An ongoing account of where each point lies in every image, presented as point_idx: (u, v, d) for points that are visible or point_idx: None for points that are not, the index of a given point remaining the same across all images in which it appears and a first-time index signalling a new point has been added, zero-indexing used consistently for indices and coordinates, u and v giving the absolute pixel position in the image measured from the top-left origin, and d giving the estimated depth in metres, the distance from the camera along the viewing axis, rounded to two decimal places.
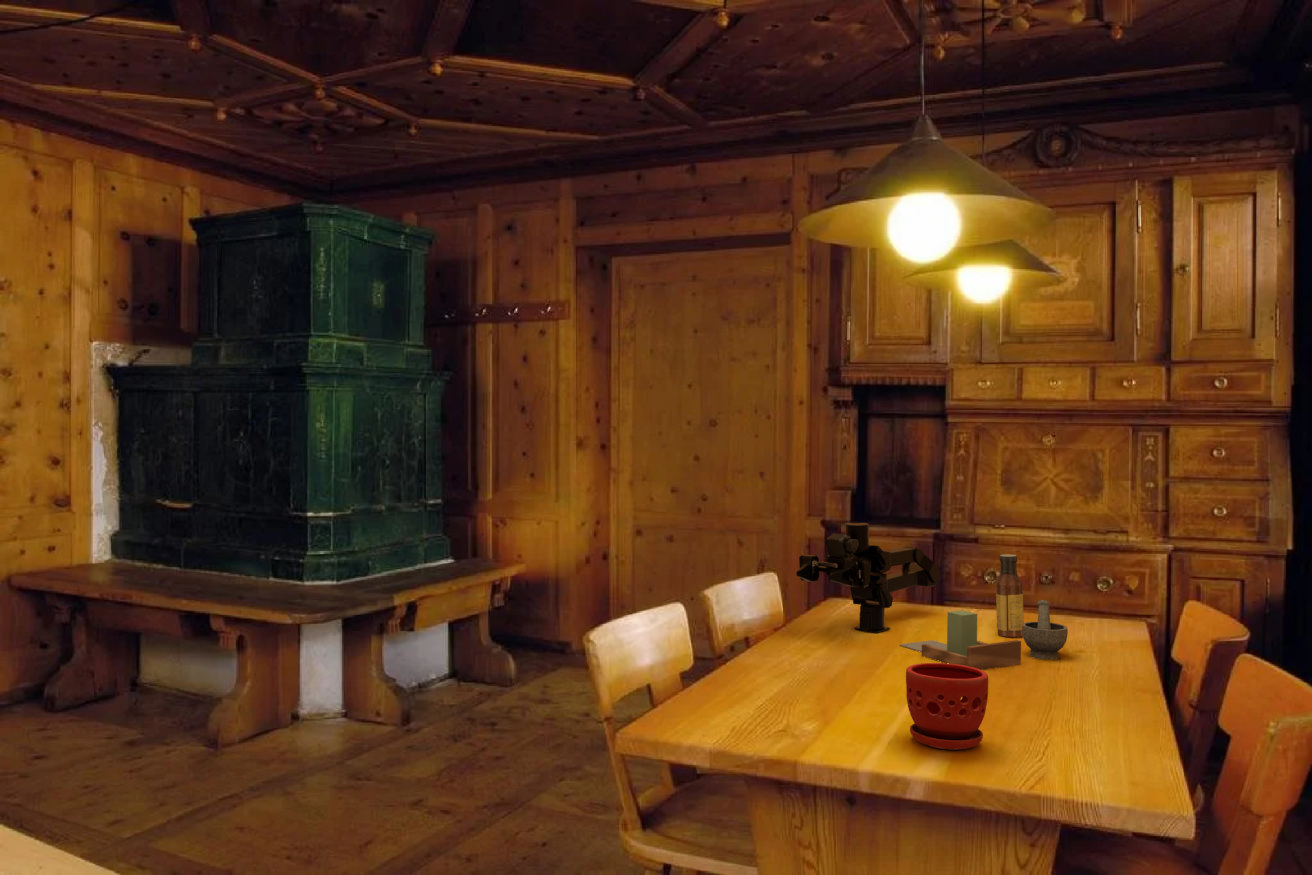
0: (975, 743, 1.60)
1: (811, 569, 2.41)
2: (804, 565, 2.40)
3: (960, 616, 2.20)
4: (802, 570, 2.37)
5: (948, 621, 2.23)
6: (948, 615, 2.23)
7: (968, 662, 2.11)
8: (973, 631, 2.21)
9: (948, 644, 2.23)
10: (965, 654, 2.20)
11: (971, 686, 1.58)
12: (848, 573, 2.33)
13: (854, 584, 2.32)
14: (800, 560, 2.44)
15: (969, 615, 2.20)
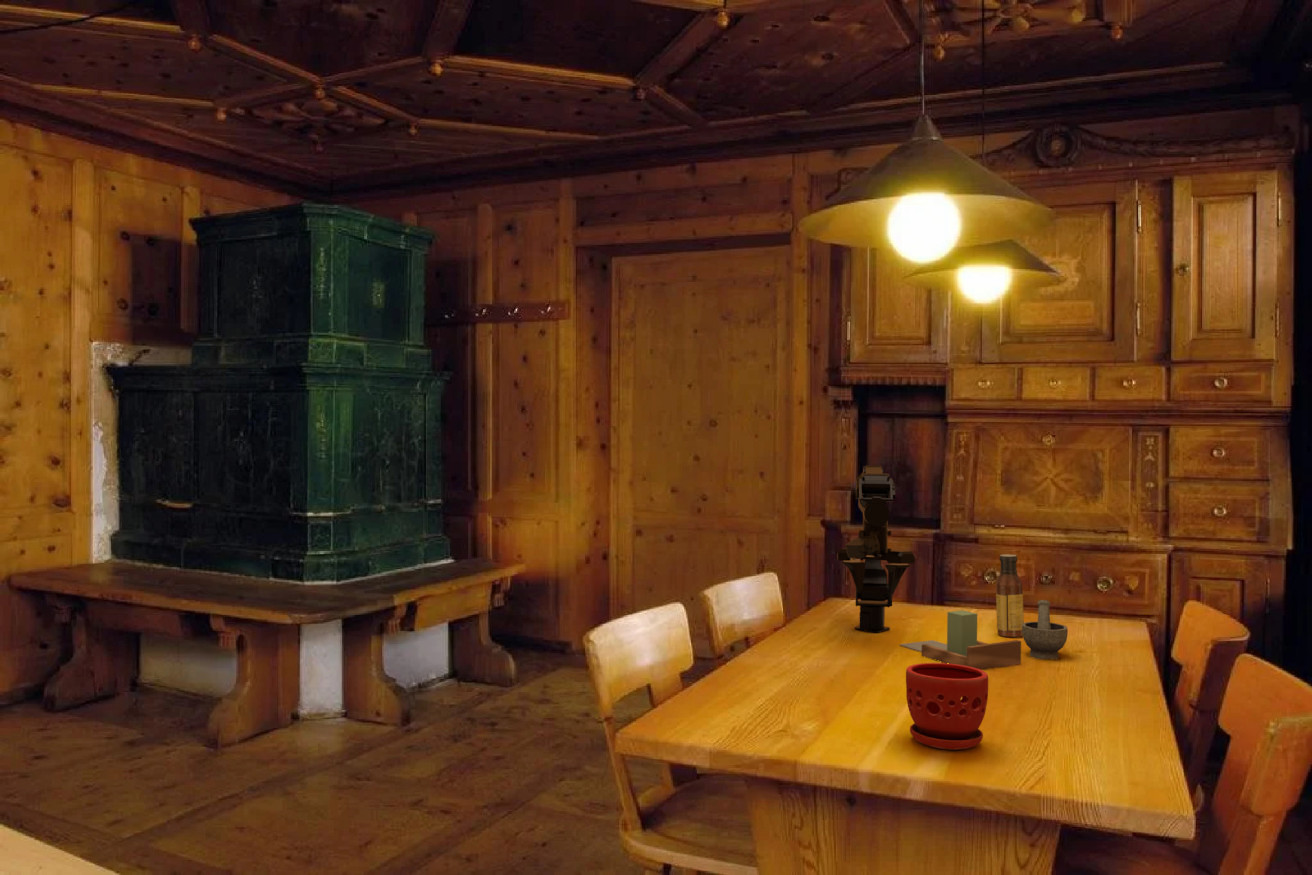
0: (975, 743, 1.60)
1: (858, 565, 2.38)
2: (852, 573, 2.38)
3: (960, 616, 2.20)
4: (858, 583, 2.37)
5: (948, 621, 2.23)
6: (948, 615, 2.23)
7: (968, 662, 2.11)
8: (973, 631, 2.21)
9: (948, 644, 2.23)
10: (965, 654, 2.20)
11: (971, 686, 1.58)
12: (894, 568, 2.30)
13: (906, 567, 2.30)
14: None
15: (969, 615, 2.20)
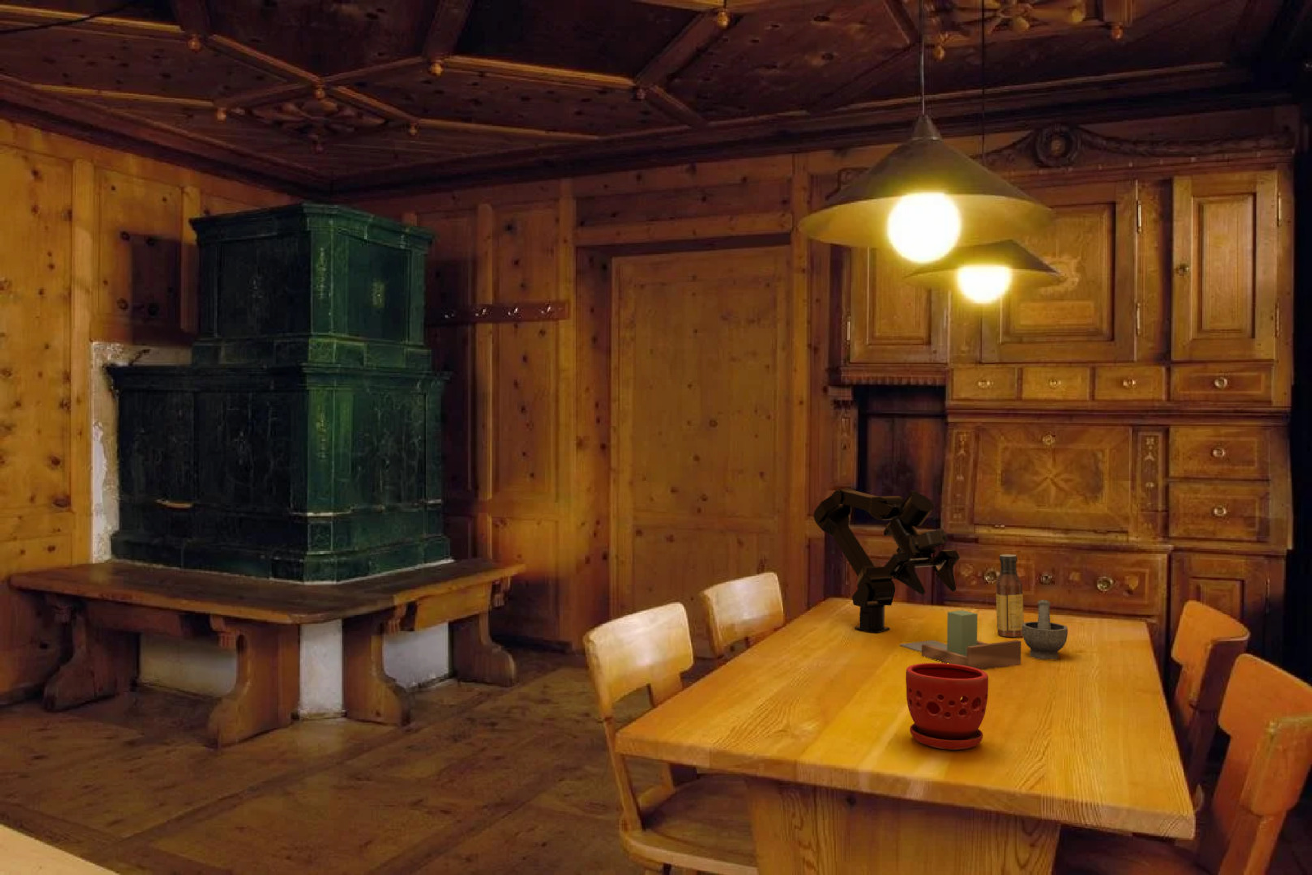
0: (975, 743, 1.60)
1: None
2: (914, 575, 2.28)
3: (960, 616, 2.20)
4: None
5: (948, 621, 2.23)
6: (948, 615, 2.23)
7: (968, 662, 2.11)
8: (973, 631, 2.21)
9: (948, 644, 2.23)
10: (965, 654, 2.20)
11: (971, 686, 1.58)
12: None
13: None
14: (897, 564, 2.28)
15: (969, 615, 2.20)
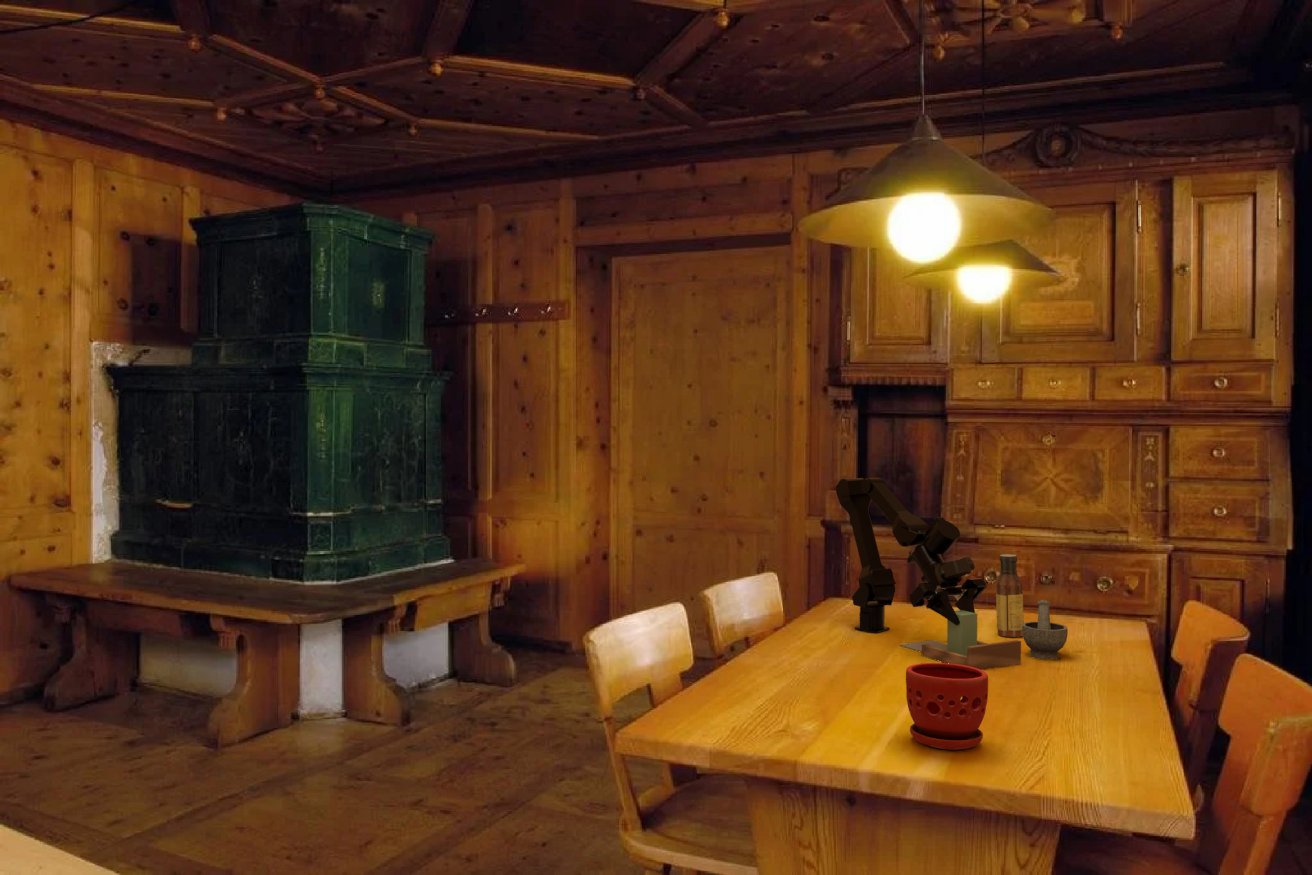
0: (975, 743, 1.60)
1: None
2: (948, 605, 2.22)
3: (960, 616, 2.20)
4: None
5: (948, 621, 2.23)
6: None
7: (968, 662, 2.11)
8: (973, 631, 2.21)
9: (948, 644, 2.23)
10: (965, 654, 2.20)
11: (971, 686, 1.58)
12: None
13: None
14: (923, 594, 2.21)
15: (969, 615, 2.20)
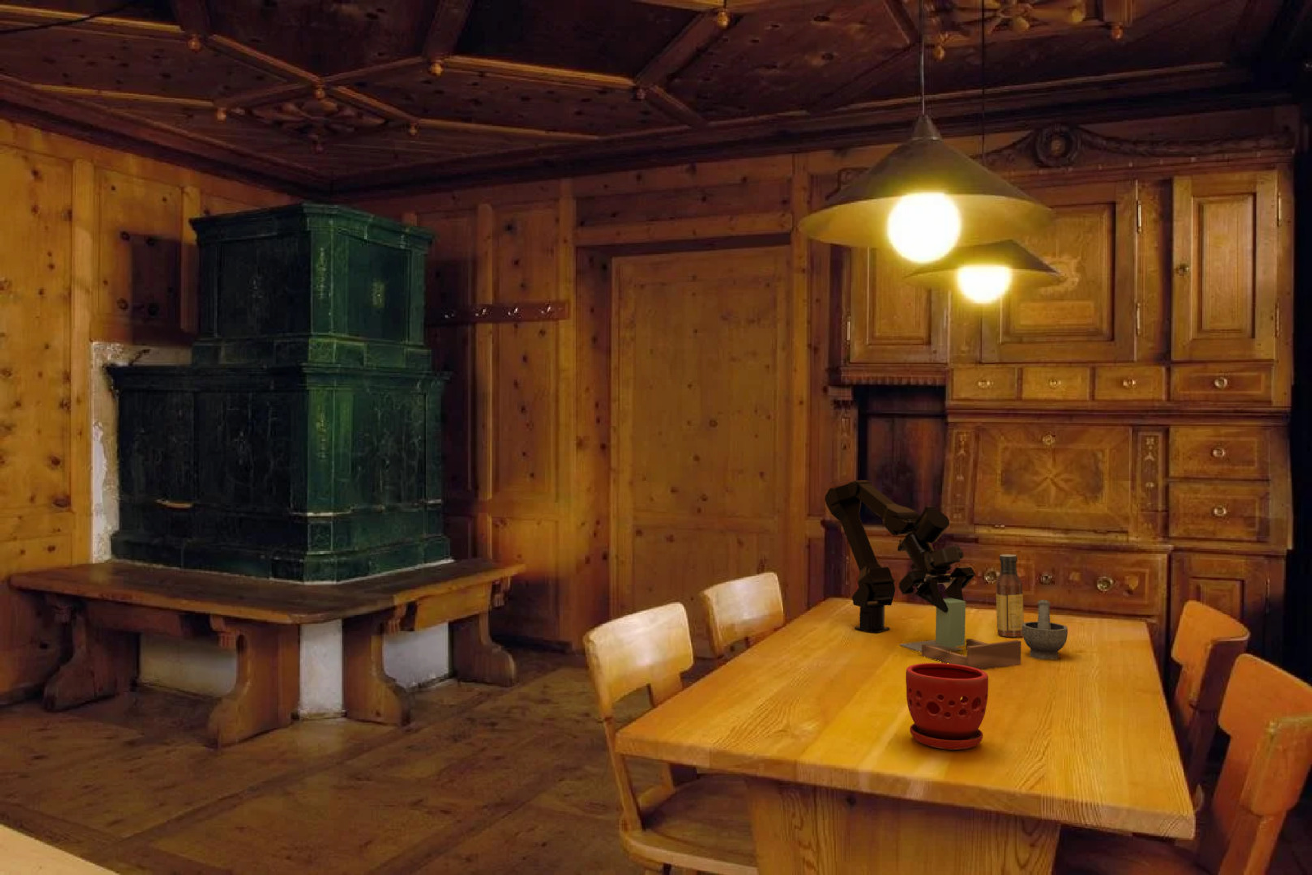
0: (975, 743, 1.60)
1: None
2: (937, 592, 2.25)
3: (948, 603, 2.23)
4: None
5: (936, 609, 2.27)
6: None
7: (968, 662, 2.11)
8: (961, 618, 2.24)
9: (937, 631, 2.27)
10: (953, 641, 2.23)
11: (971, 686, 1.58)
12: None
13: None
14: (912, 582, 2.24)
15: (957, 603, 2.24)
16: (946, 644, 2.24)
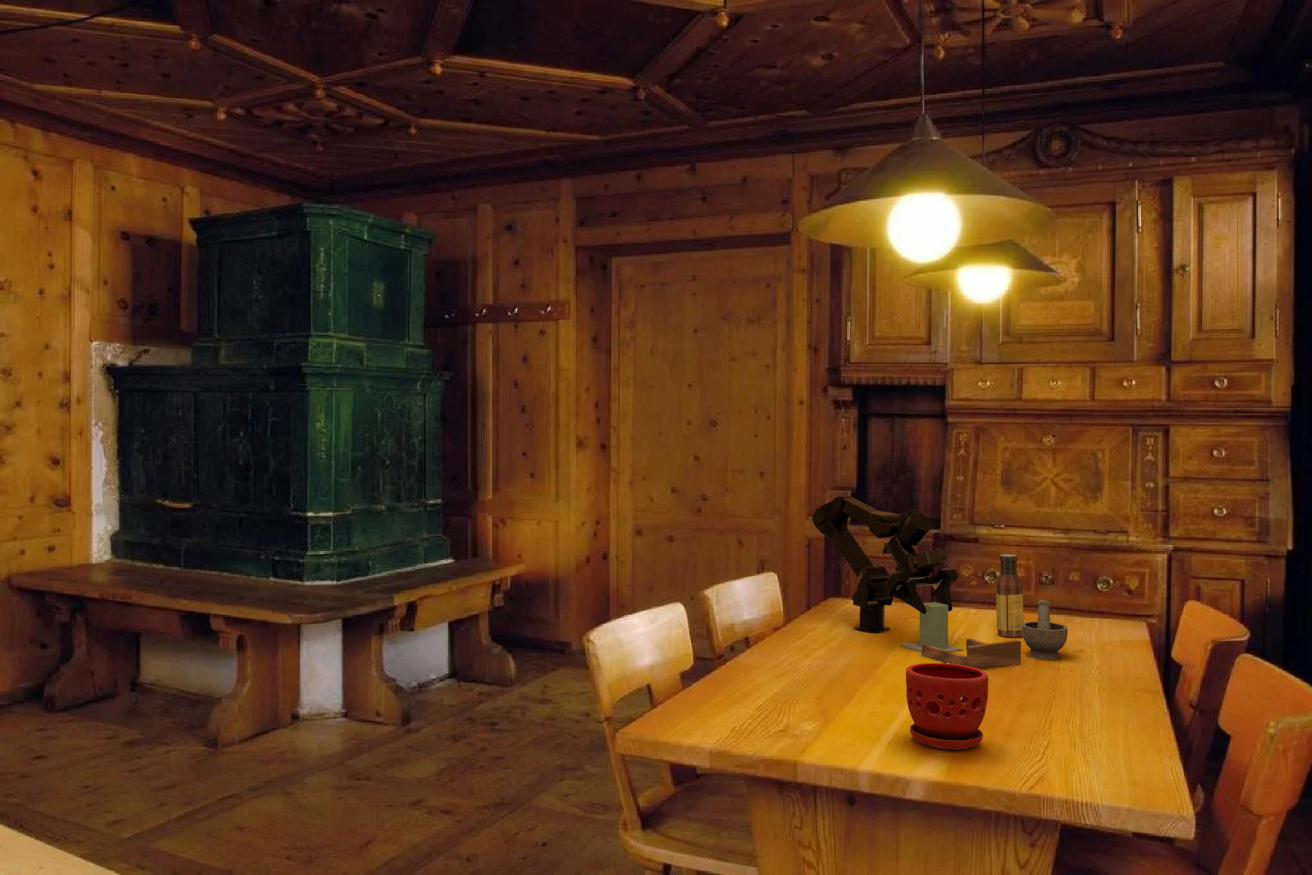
0: (975, 743, 1.60)
1: None
2: (916, 594, 2.29)
3: (931, 607, 2.28)
4: None
5: (920, 613, 2.31)
6: None
7: (968, 662, 2.11)
8: (944, 622, 2.29)
9: (920, 635, 2.31)
10: (936, 644, 2.28)
11: (971, 686, 1.58)
12: None
13: None
14: (896, 583, 2.29)
15: (940, 606, 2.29)
16: None
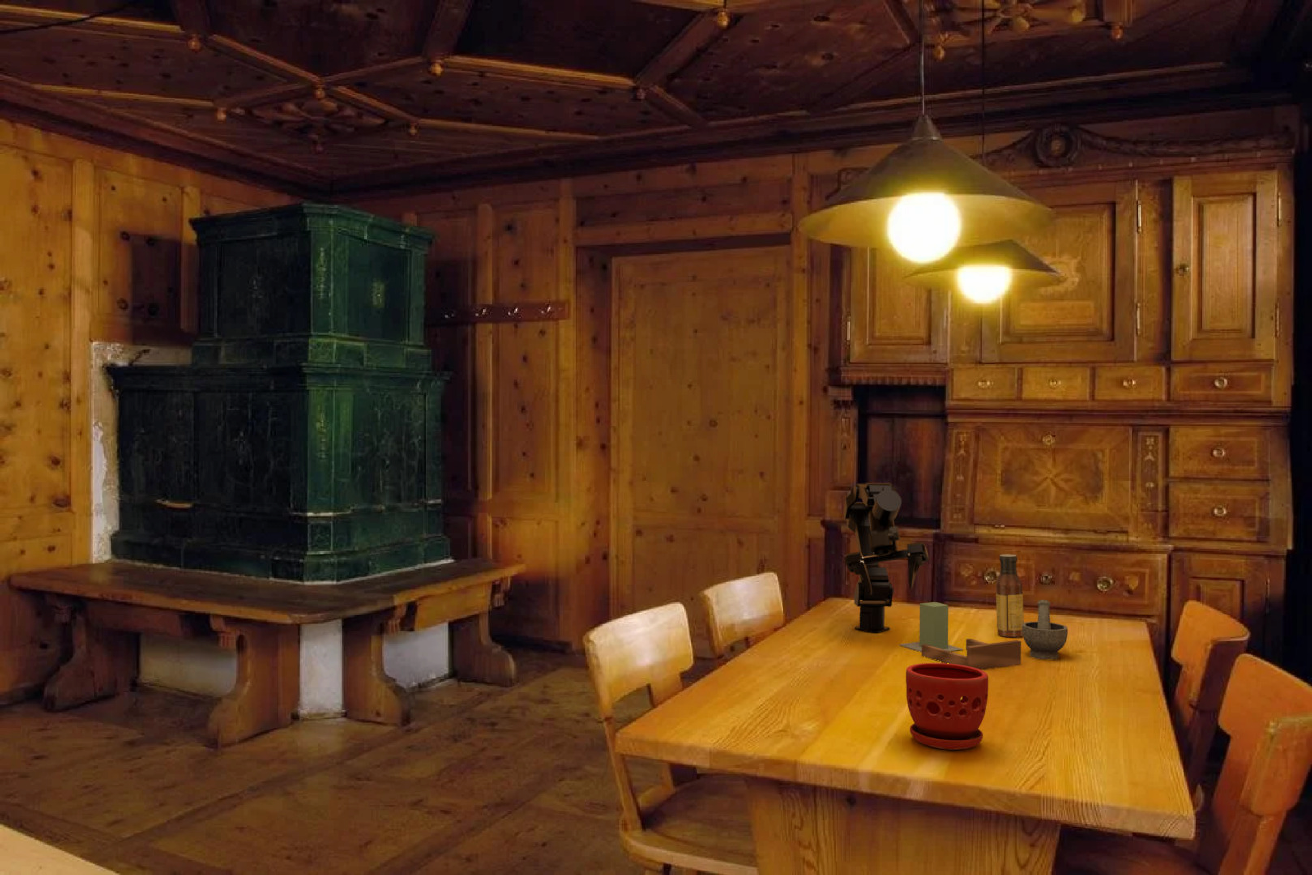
0: (975, 743, 1.60)
1: (866, 569, 2.36)
2: (863, 575, 2.34)
3: (931, 607, 2.28)
4: (870, 584, 2.33)
5: (920, 613, 2.31)
6: (920, 606, 2.31)
7: (968, 662, 2.11)
8: (944, 622, 2.29)
9: (920, 635, 2.31)
10: (936, 644, 2.28)
11: (971, 686, 1.58)
12: None
13: (919, 564, 2.34)
14: (847, 564, 2.36)
15: (940, 606, 2.29)
16: None
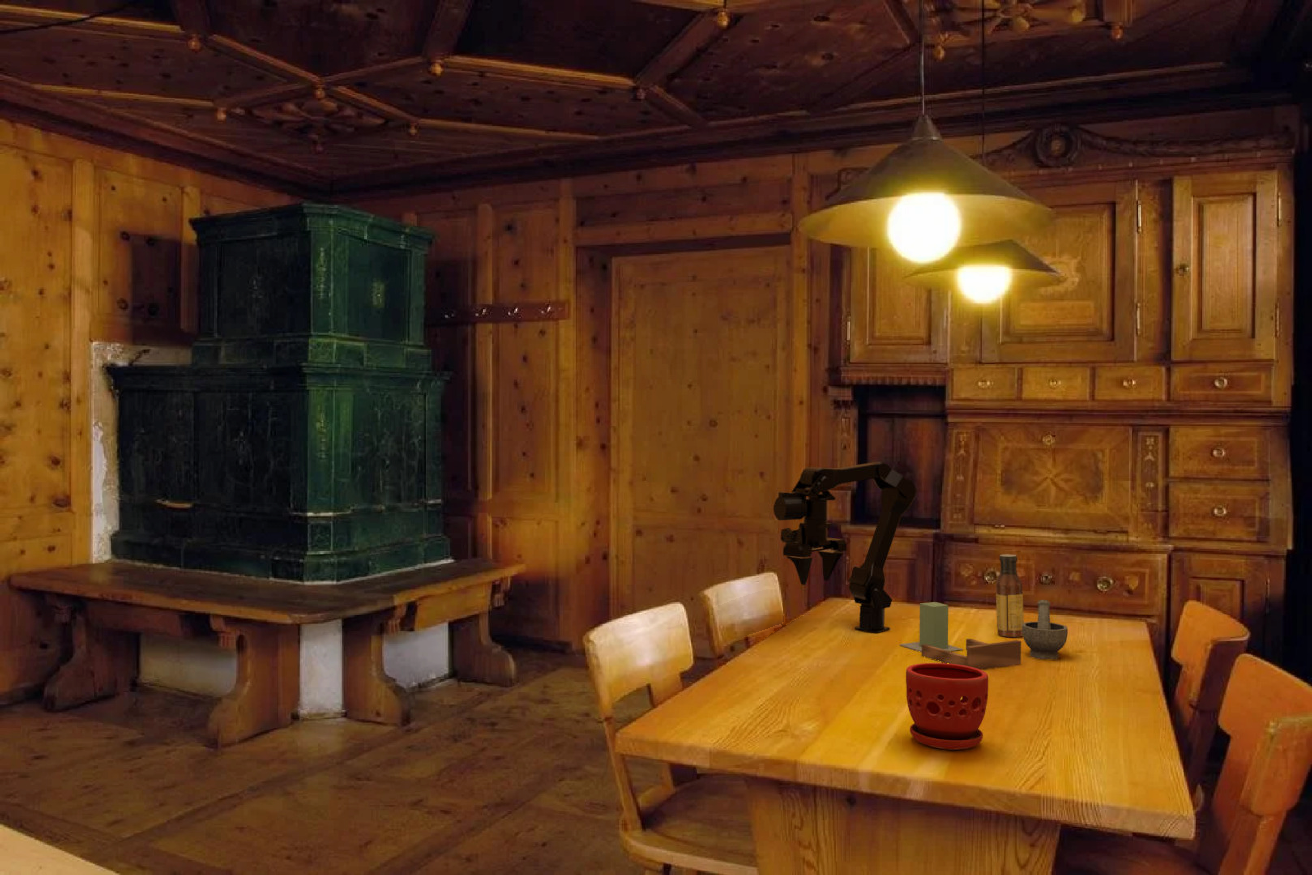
0: (975, 743, 1.60)
1: (827, 555, 2.47)
2: None
3: (931, 607, 2.28)
4: (824, 572, 2.47)
5: (920, 613, 2.31)
6: (920, 606, 2.31)
7: (968, 662, 2.11)
8: (944, 622, 2.29)
9: (920, 635, 2.31)
10: (936, 644, 2.28)
11: (971, 686, 1.58)
12: (800, 560, 2.40)
13: None
14: None
15: (940, 606, 2.29)
16: None
